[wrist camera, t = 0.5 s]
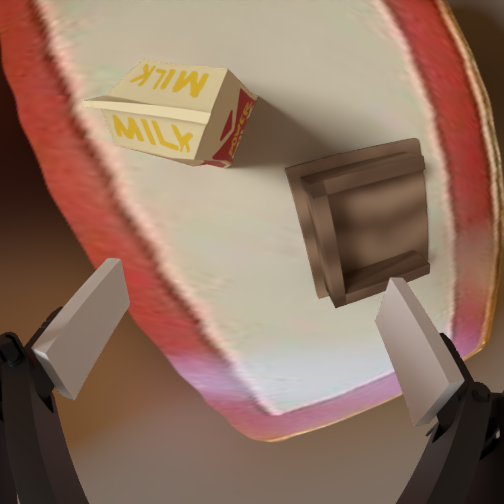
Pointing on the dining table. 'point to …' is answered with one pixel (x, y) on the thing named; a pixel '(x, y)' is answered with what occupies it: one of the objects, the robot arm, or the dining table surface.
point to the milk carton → (178, 112)
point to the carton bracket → (363, 219)
